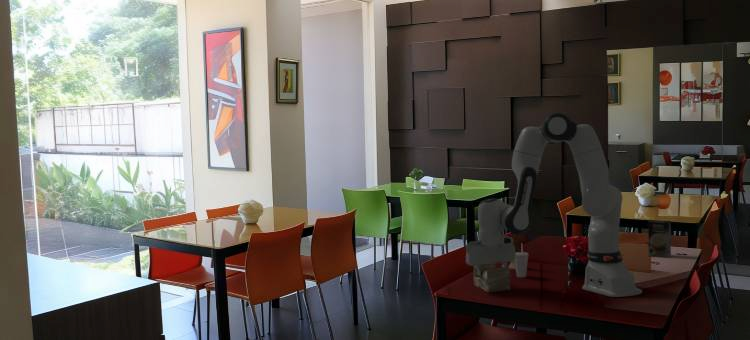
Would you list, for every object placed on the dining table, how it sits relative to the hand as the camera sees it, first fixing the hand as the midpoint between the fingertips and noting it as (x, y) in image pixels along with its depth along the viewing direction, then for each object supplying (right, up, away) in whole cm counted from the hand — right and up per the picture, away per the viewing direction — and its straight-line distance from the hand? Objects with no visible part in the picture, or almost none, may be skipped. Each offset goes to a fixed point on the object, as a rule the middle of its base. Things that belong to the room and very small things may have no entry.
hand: (491, 274), depth 260 cm
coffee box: (+86, +1, +43) cm, 96 cm away
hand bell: (+17, -3, +32) cm, 37 cm away
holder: (0, -5, 0) cm, 5 cm away
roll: (0, -2, 0) cm, 2 cm away
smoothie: (+16, -4, +16) cm, 23 cm away
